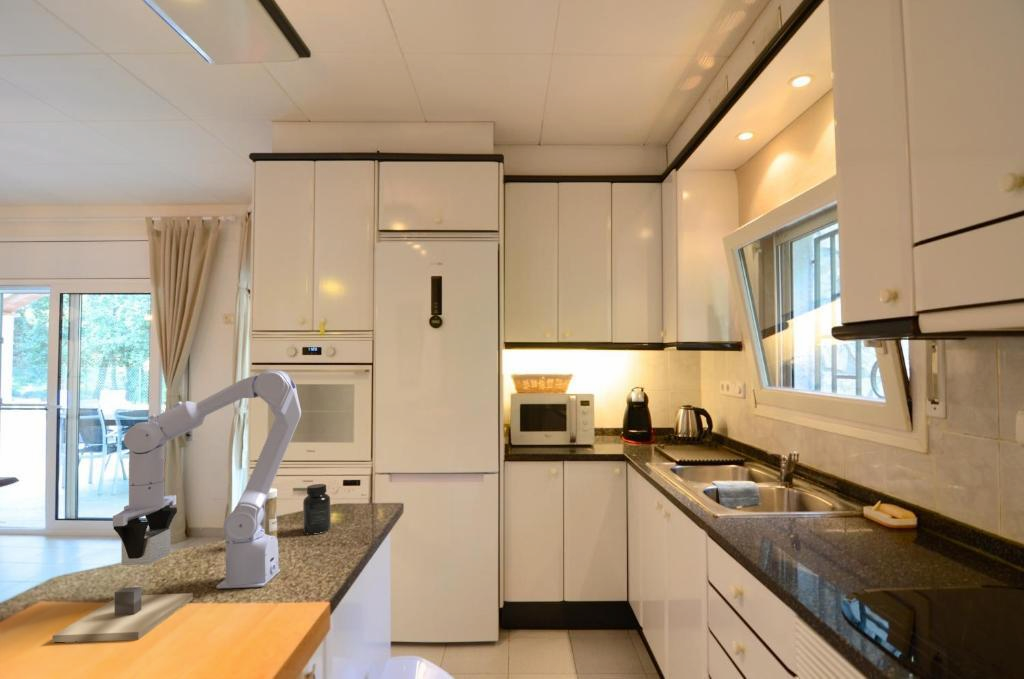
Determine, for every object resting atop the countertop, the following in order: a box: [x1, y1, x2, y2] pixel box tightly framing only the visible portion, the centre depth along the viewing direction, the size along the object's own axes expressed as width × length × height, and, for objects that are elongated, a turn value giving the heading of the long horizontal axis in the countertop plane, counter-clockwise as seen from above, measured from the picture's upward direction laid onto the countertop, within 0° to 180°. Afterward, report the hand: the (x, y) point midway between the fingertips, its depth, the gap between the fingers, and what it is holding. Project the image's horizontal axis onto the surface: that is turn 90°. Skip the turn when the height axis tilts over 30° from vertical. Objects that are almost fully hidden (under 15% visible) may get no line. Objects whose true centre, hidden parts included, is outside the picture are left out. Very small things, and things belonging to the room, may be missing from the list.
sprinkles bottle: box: [260, 487, 279, 541], centre depth 126 cm, size 5×5×14 cm
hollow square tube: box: [121, 527, 172, 566], centre depth 99 cm, size 6×6×5 cm
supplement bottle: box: [302, 483, 332, 535], centre depth 135 cm, size 7×7×12 cm
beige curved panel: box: [52, 586, 194, 643], centre depth 89 cm, size 14×14×5 cm
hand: (146, 551), depth 99 cm, fingers closed on hollow square tube, 6 cm apart
